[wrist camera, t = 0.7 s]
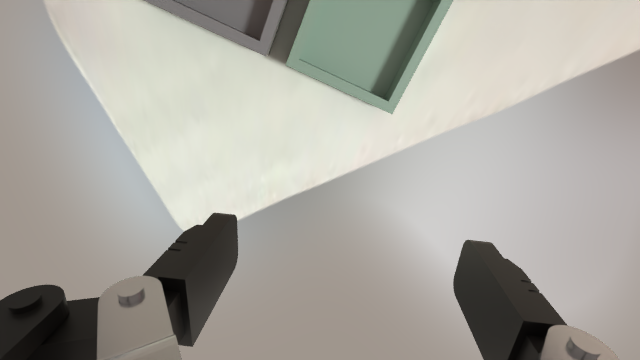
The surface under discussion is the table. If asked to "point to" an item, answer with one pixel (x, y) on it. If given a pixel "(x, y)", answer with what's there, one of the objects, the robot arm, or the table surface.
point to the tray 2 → (366, 45)
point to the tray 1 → (232, 19)
